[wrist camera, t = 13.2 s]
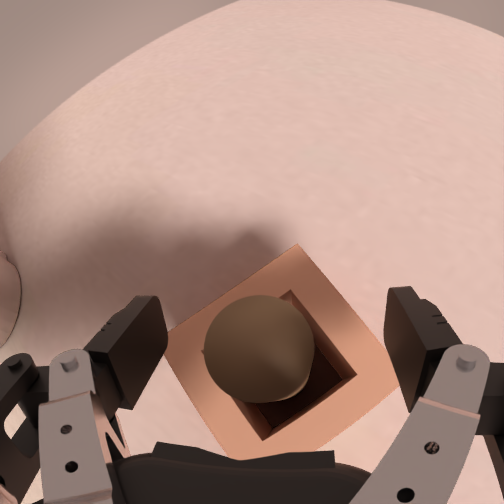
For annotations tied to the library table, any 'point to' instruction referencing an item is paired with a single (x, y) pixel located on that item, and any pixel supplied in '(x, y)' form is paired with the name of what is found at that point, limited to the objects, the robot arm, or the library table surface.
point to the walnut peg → (259, 349)
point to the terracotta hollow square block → (326, 339)
